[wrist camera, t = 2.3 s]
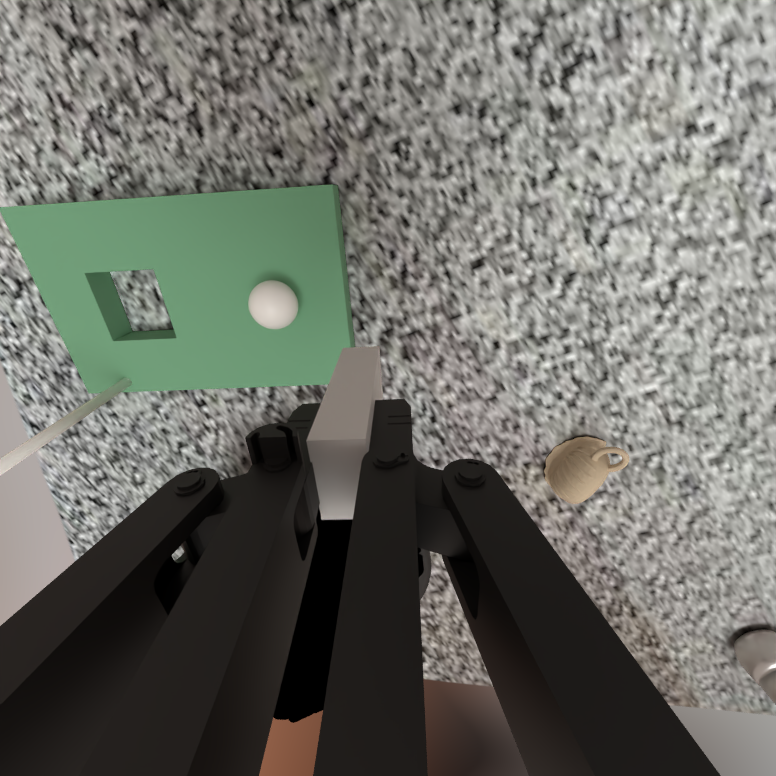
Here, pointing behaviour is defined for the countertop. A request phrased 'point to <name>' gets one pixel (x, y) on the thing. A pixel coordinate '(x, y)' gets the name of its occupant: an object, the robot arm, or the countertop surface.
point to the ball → (273, 304)
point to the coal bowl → (322, 621)
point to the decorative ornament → (580, 467)
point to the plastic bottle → (759, 658)
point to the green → (189, 290)
